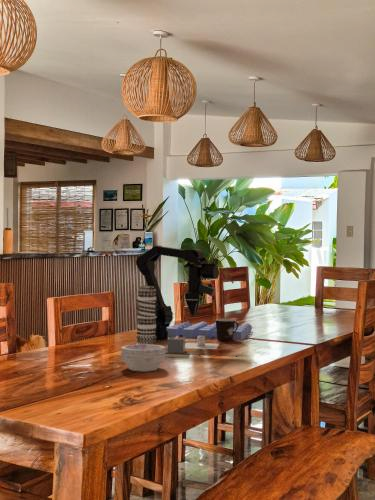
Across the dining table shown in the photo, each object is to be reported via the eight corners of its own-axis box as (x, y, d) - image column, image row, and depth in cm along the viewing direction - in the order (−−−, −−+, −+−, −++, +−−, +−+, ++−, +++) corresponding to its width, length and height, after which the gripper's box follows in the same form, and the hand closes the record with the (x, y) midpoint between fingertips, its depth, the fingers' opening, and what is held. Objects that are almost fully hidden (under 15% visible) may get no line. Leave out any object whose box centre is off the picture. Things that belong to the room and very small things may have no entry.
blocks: (165, 339, 299) (165, 328, 299) (184, 329, 333) (184, 319, 333) (241, 342, 291) (241, 331, 291) (252, 332, 324) (252, 322, 324)
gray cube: (183, 354, 251) (183, 338, 251) (167, 353, 252) (167, 337, 252) (185, 351, 257) (185, 336, 257) (169, 351, 258) (170, 335, 258)
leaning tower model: (154, 346, 273) (155, 287, 273) (133, 345, 275) (133, 286, 275) (159, 343, 282) (160, 285, 282) (139, 342, 284) (139, 285, 284)
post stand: (181, 350, 263) (182, 338, 263) (186, 345, 277) (186, 333, 277) (216, 352, 262) (216, 339, 262) (219, 346, 276) (219, 334, 275)
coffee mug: (218, 344, 281) (219, 321, 281) (212, 341, 290) (212, 319, 290) (244, 343, 284) (244, 320, 284) (237, 340, 293) (237, 318, 293)
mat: (159, 356, 250) (159, 354, 250) (164, 351, 261) (164, 349, 261) (188, 357, 248) (188, 355, 248) (191, 352, 259) (191, 350, 259)
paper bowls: (142, 363, 236) (142, 341, 235) (174, 369, 226) (174, 346, 226) (111, 369, 224) (111, 346, 224) (144, 375, 214) (144, 351, 214)
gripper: (211, 279, 268) (211, 317, 268) (215, 277, 287) (215, 312, 287) (184, 279, 270) (184, 317, 270) (190, 277, 288) (189, 312, 288)
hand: (194, 314), depth 279 cm, fingers open, 9 cm apart
